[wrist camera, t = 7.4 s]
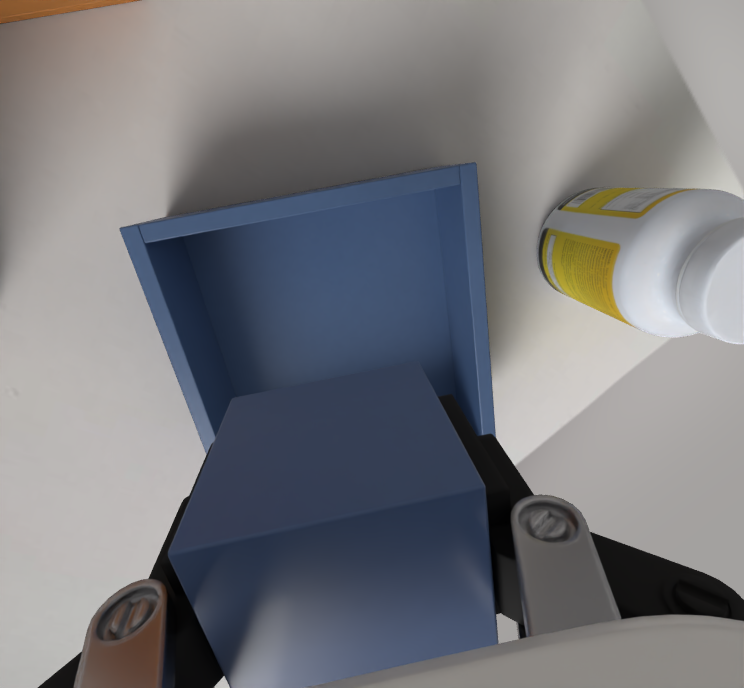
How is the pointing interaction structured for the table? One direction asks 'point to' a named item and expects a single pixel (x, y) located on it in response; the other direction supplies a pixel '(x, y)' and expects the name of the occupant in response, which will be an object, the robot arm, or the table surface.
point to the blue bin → (323, 290)
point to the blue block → (337, 533)
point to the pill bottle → (651, 258)
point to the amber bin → (47, 7)
